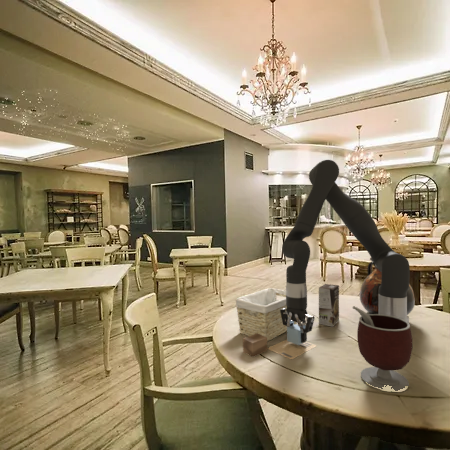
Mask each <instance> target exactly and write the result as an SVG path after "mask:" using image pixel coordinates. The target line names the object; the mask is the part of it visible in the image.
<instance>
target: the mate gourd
mask: <svg viewBox="0 0 450 450" xmlns="http://www.w3.org/2000/svg"><path fill="white" fill-rule="evenodd" d="M352 309H353V310H355V311H356V312H358V313H359V315H360V317H358V319H359V321H358V325H357V338H356V339H357V346H358V350H359V353H360V355H361V356H362V357H363V359H364V361H366V363H367V364H369V365H370V366H369V367H365V368H363V369H362V370H361V372H360V379H361V378H362V379H363V380H364V381H365V382H367V383H368V384H370V385H372V386H374V387H378V388H381V389H383V388H382V387H384V385H386V386H387V385H389V386H392V387H391V389H392V388H393V389H394V390H395V391H398V390H400V389H403V388H405V386H409V387H410V381H409V380H408V379H407V378H406V377H405V376H404V375H403V374H401V373H399V372H398V371H399V370H400V371H401V370H402V369H403V368H405V366H407V365H408V364H409V363H410V360H411V357H412V353H413V334H412V330H411V324H410V322H409V323H408V322H407V321H405V320H403V319H400V318H397V317H394V316H389V315H381V314H367V312H365V311H364V310H363V309H360V308H358V307H357V306H356V305H353V306H352ZM362 379H361V380H362ZM363 380H362V381H363ZM364 381H363V382H364ZM365 382H364V383H365ZM386 386H385V387H386Z"/></svg>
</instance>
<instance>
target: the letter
mask: <svg viewBox="0 0 450 450" xmlns="http://www.w3.org/2000/svg"><path fill="white" fill-rule="evenodd" d="M316 347H317V345H316V344H314V343H310V342H309V341H306V342H304V343H302V344H300V345H297V344H294V343H291V342H289V341H287V338H286V339H284V340H282V341H280V342H277V343H276V344H274V345H271V346H269V347H267V350H269V351H271V352H273V353H276V354H278V355H281V356H282V357H285V358H287V359H290V360H293V359H295V358H297V357H299V356H301V355H303V354H305V353H307V352H308V351H310V350H312V349H314V348H316Z"/></svg>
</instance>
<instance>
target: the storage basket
mask: <svg viewBox="0 0 450 450" xmlns="http://www.w3.org/2000/svg"><path fill="white" fill-rule="evenodd" d="M277 296H280V297H283V298H282V299H277ZM235 307H236V310H237V311H236V312H237V318H238V320H237V321H238V326H239V332H240V333H241V334H243V335H245V336H246V337H248V336H251V335H254V334H256V333H258V334H260V335H262V336H265V337H267V342H269V341H271V340H273V339H275V338H277V337H279V336H280V335H282V334H284V333H287V326H286V325H283V322H282V317H281V313H280V310H281V309H283V308H287V306H286V289H285V290H283V289H278V288H273V287H268V288H264V289H262V290H261V289H260V290H258V291H255V292H252V293H248V294H246V295H243V296H242V295H241V296H240V297H237V298H235ZM287 314H288V313H287ZM288 317H289V315H288ZM285 321H286V320H285ZM294 324H297V325H298V323H297V322H294ZM294 324H293V325H294Z"/></svg>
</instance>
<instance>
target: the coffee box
mask: <svg viewBox="0 0 450 450" xmlns="http://www.w3.org/2000/svg"><path fill="white" fill-rule="evenodd" d="M339 322H340V286H339V285H338V284H331V283H330V284H328V283H324V284H323V285H321V286H319V287H318V324H319V325H323V326H328V327H334V326H335V325H336V324H337V323H339Z"/></svg>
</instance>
